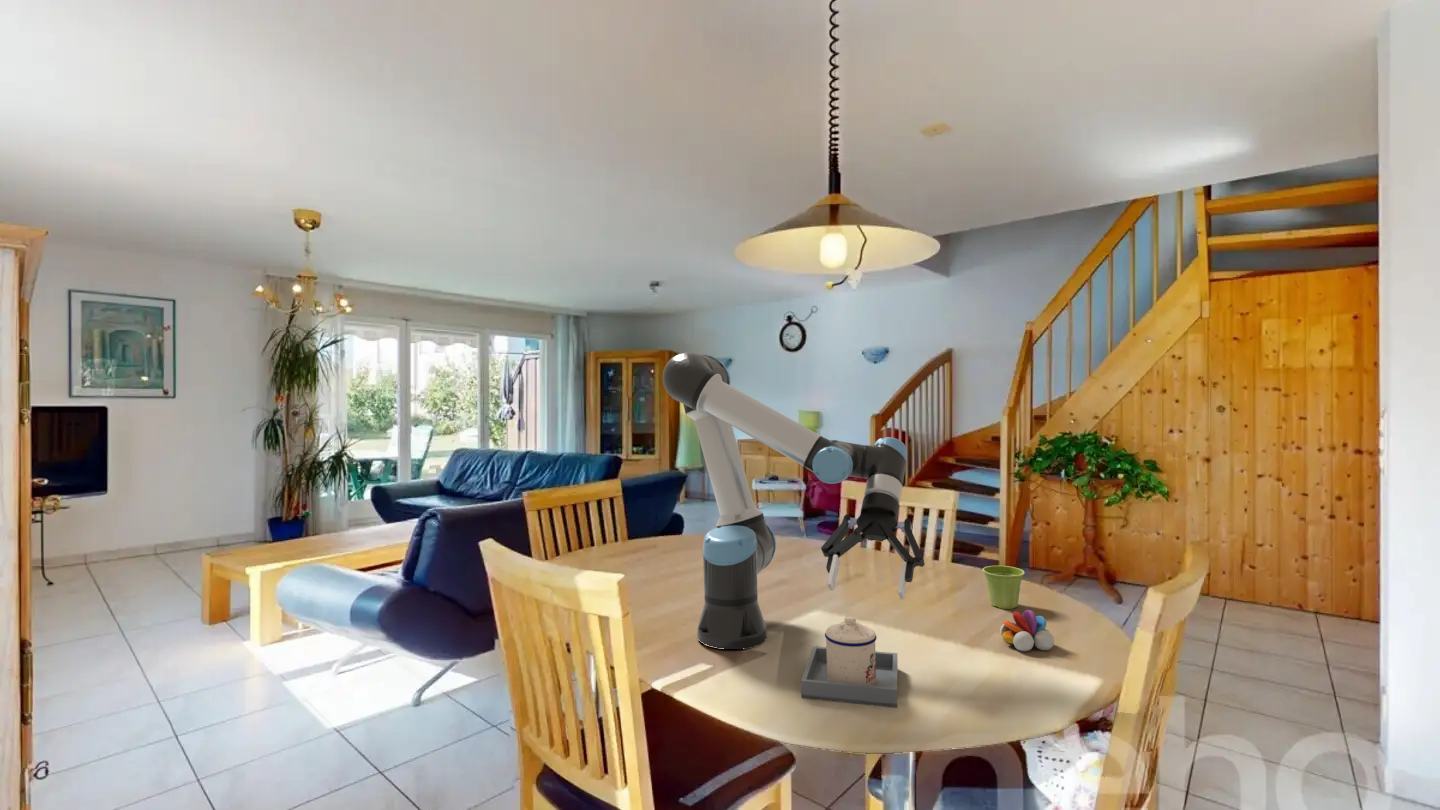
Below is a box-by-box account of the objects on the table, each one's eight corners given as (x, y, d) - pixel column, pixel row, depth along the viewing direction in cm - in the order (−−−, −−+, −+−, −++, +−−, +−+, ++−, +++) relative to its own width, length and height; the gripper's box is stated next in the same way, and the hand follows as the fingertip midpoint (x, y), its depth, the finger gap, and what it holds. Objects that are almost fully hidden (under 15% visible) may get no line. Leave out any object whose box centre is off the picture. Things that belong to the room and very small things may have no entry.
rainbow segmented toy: (993, 639, 135) (992, 605, 135) (1037, 637, 136) (1036, 603, 136) (1014, 654, 127) (1013, 618, 127) (1061, 652, 128) (1060, 616, 128)
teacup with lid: (878, 695, 109) (877, 628, 109) (824, 692, 111) (823, 625, 111) (876, 666, 121) (874, 605, 121) (827, 663, 123) (826, 603, 123)
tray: (801, 698, 110) (800, 680, 110) (813, 661, 126) (813, 646, 126) (897, 708, 106) (896, 689, 106) (897, 668, 121) (897, 653, 121)
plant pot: (1030, 612, 152) (1029, 575, 152) (989, 611, 153) (988, 575, 153) (1018, 600, 161) (1017, 565, 161) (979, 599, 162) (978, 565, 162)
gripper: (944, 515, 132) (934, 609, 119) (828, 507, 144) (807, 593, 131) (940, 493, 128) (930, 589, 114) (820, 487, 139) (798, 574, 126)
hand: (864, 591), depth 122 cm, fingers open, 13 cm apart
